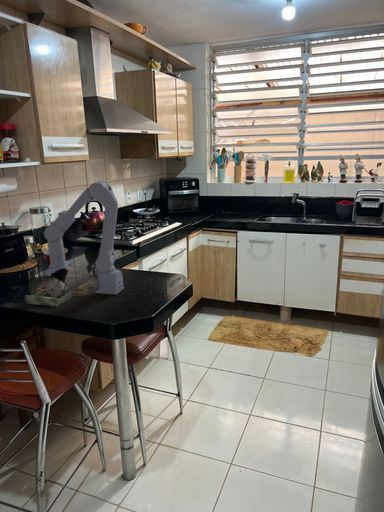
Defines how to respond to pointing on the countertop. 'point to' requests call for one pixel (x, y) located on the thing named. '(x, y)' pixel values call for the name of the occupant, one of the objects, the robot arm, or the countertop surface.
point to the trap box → (53, 301)
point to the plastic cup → (49, 256)
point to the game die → (55, 287)
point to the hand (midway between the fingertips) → (61, 287)
